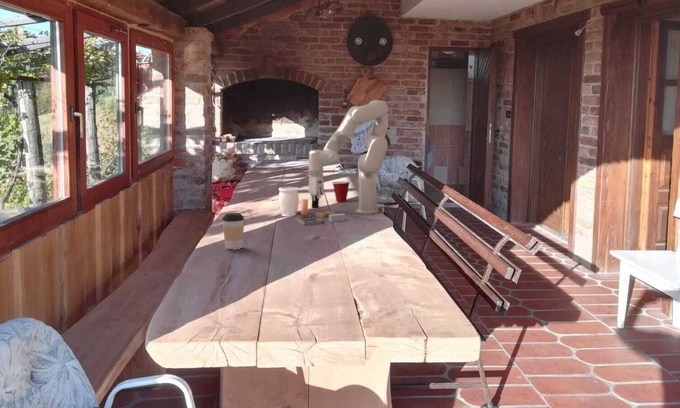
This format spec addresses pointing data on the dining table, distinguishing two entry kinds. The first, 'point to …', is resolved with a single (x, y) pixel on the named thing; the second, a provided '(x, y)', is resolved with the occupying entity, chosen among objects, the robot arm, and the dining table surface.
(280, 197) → the jar
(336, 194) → the plastic cup
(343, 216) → the gray rectangular block
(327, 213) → the tan wooden block
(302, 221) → the tray
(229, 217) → the coffee cup
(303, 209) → the dowel
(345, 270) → the dining table surface
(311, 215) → the holder
